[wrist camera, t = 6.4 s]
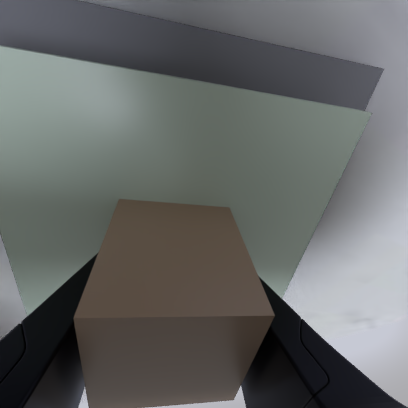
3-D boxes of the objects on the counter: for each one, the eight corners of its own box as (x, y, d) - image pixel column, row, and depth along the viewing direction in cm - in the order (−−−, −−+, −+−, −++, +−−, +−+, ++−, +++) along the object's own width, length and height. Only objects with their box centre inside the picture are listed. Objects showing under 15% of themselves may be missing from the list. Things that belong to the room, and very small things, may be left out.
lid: (261, 318, 14) (304, 436, 10) (41, 321, 12) (-37, 477, 7) (355, 109, 8) (572, 159, 4) (-39, 37, 6) (-625, -41, 2)
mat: (267, 308, 17) (269, 313, 16) (33, 309, 14) (29, 315, 14) (376, 68, 9) (384, 68, 9) (-69, -30, 7) (-81, -36, 6)
